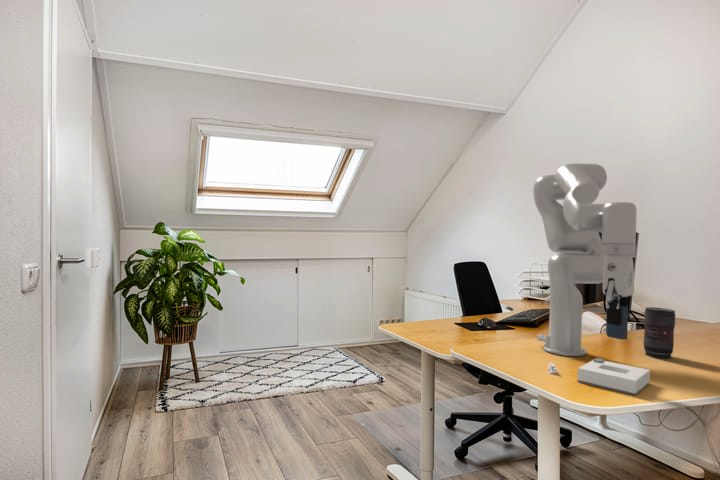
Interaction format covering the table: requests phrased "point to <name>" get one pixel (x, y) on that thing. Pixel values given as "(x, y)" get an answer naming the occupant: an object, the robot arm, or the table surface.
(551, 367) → the power adapter
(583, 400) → the table surface
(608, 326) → the vaping device
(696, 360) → the table surface
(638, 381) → the socket block
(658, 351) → the camera lens
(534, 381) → the table surface
